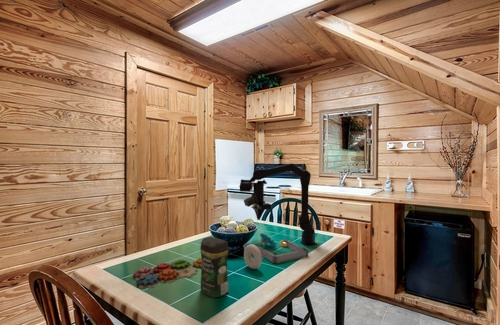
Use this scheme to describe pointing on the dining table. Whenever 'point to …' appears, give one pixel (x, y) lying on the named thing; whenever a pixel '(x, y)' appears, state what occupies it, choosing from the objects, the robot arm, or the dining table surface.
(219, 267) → the coffee jar
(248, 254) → the donut
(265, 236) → the gear
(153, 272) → the gear puzzle
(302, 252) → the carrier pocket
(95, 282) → the dining table surface
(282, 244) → the gold rounded dome
